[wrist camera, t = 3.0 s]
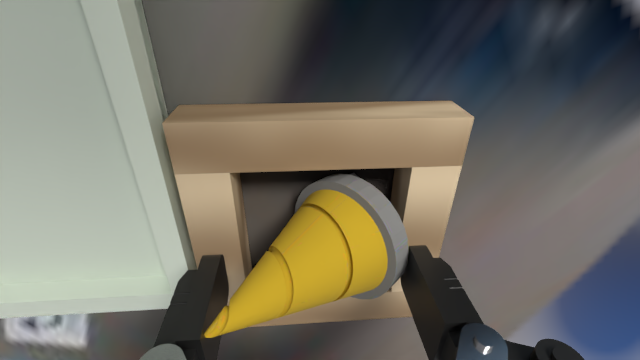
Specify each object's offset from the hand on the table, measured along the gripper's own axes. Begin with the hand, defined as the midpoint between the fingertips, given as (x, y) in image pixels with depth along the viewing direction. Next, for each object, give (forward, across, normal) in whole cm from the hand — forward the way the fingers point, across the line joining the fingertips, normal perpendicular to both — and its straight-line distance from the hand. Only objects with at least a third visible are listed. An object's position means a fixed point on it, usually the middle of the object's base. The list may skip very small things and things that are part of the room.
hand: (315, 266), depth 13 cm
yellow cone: (+4, 0, 0) cm, 4 cm away
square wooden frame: (+3, 0, 0) cm, 3 cm away
